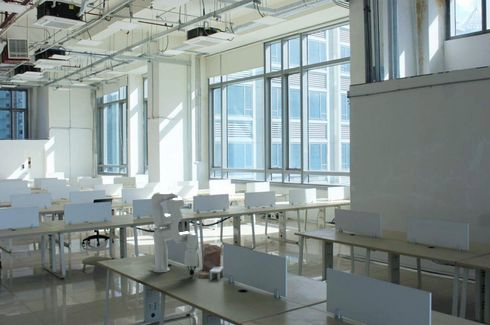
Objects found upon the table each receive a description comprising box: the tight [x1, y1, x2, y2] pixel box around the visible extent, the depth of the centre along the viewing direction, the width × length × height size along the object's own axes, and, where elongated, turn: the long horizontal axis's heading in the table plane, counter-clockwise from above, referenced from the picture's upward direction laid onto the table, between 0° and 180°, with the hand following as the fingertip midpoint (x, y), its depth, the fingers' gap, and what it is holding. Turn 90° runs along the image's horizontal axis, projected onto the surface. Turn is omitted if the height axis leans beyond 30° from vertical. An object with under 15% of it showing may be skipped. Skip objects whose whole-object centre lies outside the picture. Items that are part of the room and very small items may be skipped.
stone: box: [201, 243, 222, 272], centre depth 397 cm, size 19×11×20 cm, turn 52°
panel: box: [197, 270, 218, 279], centre depth 380 cm, size 14×8×3 cm, turn 81°
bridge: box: [209, 266, 225, 281], centre depth 377 cm, size 7×14×6 cm, turn 170°
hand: (191, 275), depth 380 cm, fingers closed
